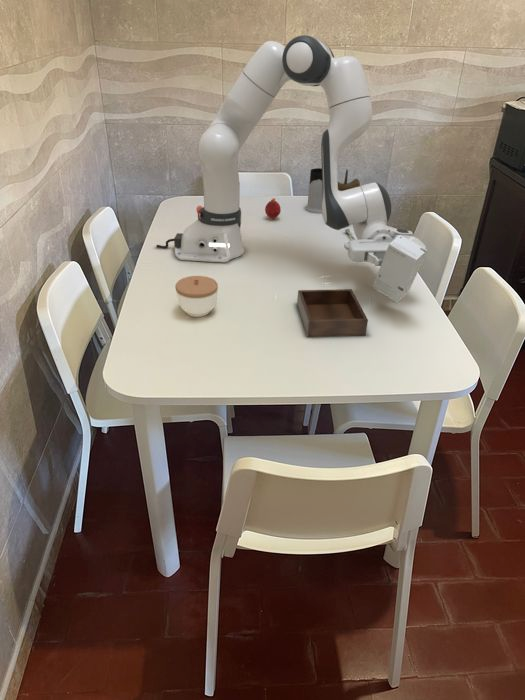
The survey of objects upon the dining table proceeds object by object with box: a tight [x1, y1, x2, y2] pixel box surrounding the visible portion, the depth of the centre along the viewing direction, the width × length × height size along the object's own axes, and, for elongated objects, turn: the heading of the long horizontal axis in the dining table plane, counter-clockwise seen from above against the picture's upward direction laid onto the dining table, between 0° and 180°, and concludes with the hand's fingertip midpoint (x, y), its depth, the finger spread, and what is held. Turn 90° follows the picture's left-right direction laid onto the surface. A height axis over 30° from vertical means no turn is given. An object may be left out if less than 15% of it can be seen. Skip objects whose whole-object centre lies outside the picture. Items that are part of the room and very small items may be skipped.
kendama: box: [338, 169, 361, 191], centre depth 192 cm, size 6×10×20 cm, turn 101°
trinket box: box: [175, 275, 219, 318], centre depth 136 cm, size 11×11×9 cm
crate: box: [296, 288, 369, 338], centre depth 136 cm, size 15×17×4 cm
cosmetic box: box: [372, 235, 428, 304], centre depth 133 cm, size 8×6×15 cm
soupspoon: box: [344, 228, 356, 240], centre depth 180 cm, size 22×3×7 cm
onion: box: [264, 197, 282, 220], centre depth 198 cm, size 6×6×8 cm
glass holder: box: [305, 167, 323, 214], centre depth 209 cm, size 9×14×15 cm, turn 170°
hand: (395, 263), depth 134 cm, fingers closed on cosmetic box, 7 cm apart
